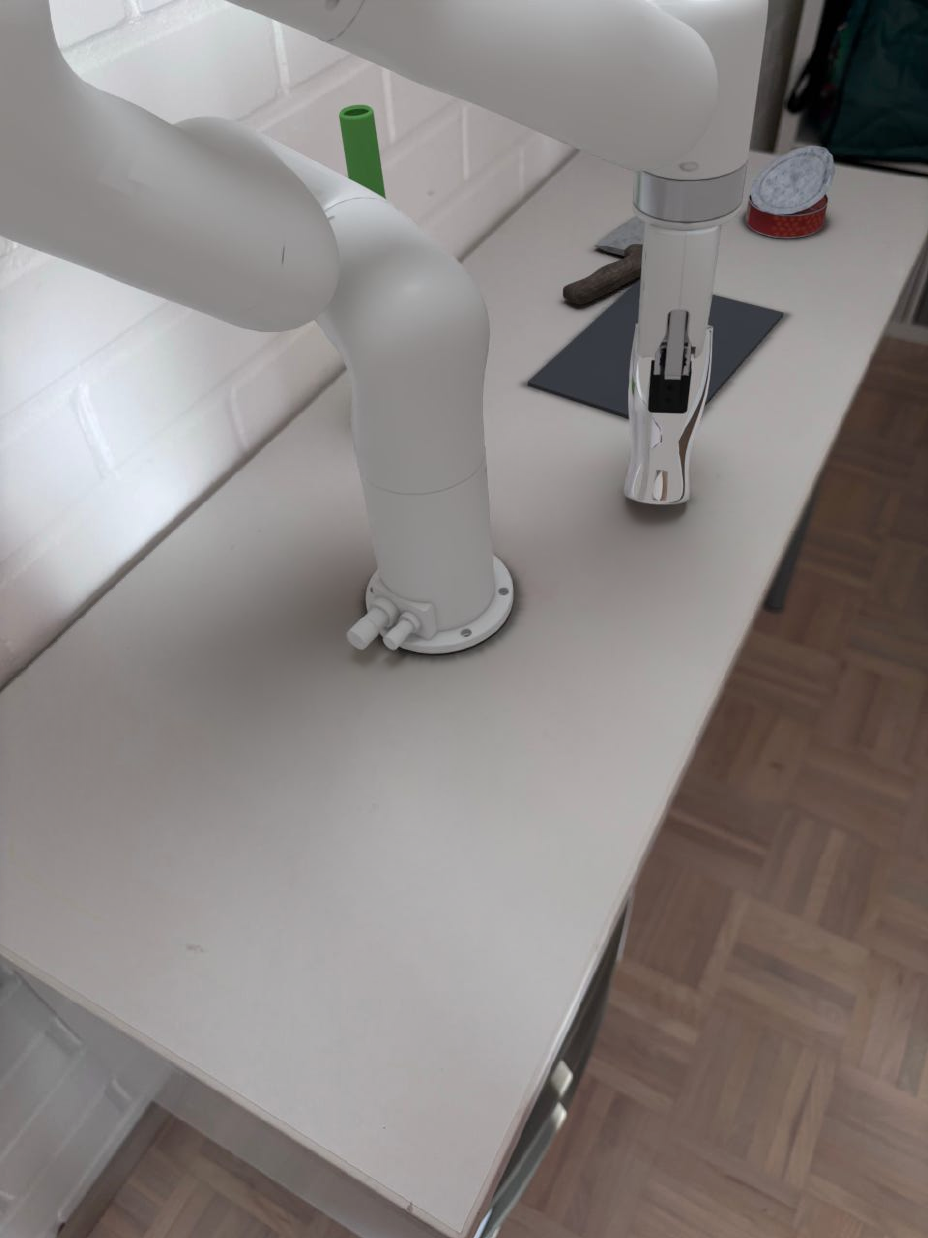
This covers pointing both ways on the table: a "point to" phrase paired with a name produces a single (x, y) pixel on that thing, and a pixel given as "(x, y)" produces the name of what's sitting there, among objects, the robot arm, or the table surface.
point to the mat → (604, 349)
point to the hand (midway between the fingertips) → (667, 407)
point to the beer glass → (663, 432)
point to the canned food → (791, 194)
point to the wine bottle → (362, 147)
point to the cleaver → (612, 264)
